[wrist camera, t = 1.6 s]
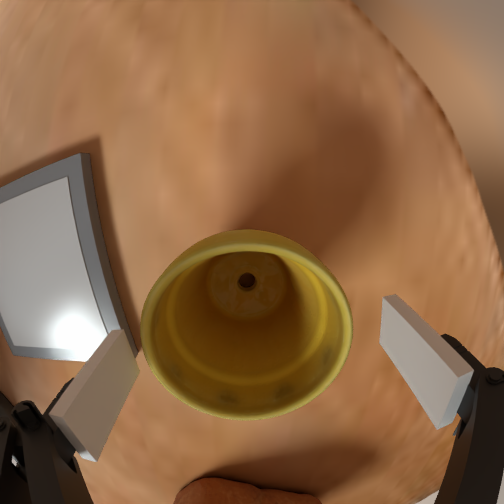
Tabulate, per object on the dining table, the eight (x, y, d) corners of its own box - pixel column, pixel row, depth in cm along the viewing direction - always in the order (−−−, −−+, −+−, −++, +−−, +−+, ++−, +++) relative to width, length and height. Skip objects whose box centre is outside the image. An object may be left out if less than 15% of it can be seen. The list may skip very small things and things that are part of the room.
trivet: (19, 349, 24) (12, 355, 22) (-24, 204, 19) (-33, 206, 18) (138, 352, 24) (133, 362, 22) (89, 153, 19) (79, 152, 17)
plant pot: (190, 199, 20) (146, 218, 11) (326, 227, 21) (384, 266, 12) (173, 323, 23) (139, 402, 13) (293, 343, 24) (315, 427, 14)
